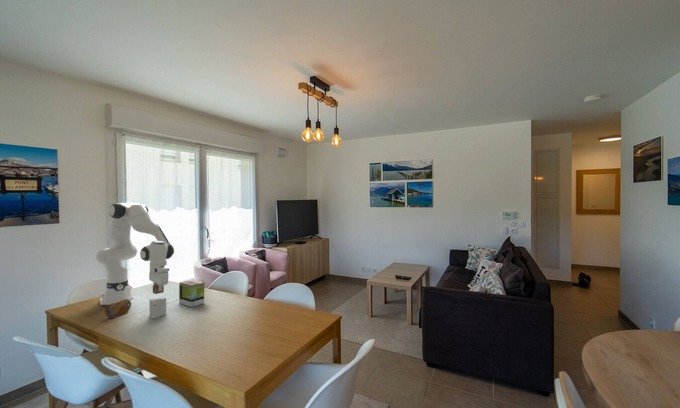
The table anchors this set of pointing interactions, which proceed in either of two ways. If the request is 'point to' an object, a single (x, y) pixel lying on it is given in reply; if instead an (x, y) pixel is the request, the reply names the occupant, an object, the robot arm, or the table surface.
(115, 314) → the tin
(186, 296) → the tea box
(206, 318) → the table surface
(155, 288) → the walnut cube
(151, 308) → the small box
